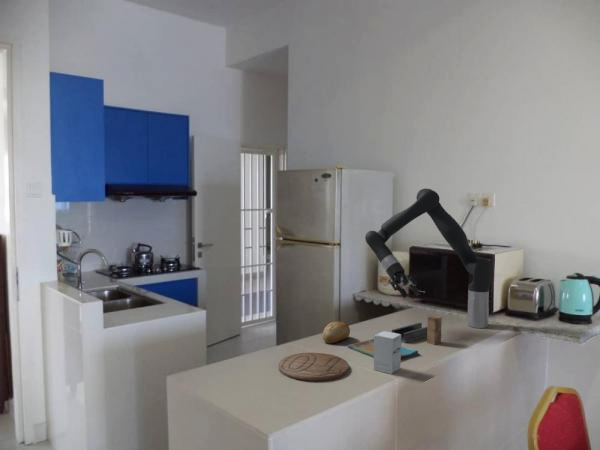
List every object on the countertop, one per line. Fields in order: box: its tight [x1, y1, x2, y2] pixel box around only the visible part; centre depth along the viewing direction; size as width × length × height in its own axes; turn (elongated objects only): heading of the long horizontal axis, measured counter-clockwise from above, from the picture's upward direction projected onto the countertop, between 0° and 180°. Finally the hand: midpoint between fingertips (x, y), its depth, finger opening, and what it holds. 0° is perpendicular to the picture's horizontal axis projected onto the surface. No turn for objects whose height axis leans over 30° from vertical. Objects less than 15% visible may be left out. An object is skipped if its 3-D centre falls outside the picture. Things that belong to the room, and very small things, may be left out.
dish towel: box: [347, 338, 420, 361], centre depth 187 cm, size 17×23×2 cm
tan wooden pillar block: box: [426, 315, 443, 346], centre depth 198 cm, size 5×4×11 cm
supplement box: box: [373, 330, 402, 375], centre depth 167 cm, size 7×7×13 cm
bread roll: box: [322, 321, 351, 344], centre depth 201 cm, size 10×15×8 cm, turn 141°
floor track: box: [391, 322, 427, 344], centre depth 207 cm, size 20×8×4 cm, turn 129°
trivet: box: [278, 352, 350, 383], centre depth 167 cm, size 25×25×2 cm
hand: (412, 295), depth 206 cm, fingers open, 8 cm apart
